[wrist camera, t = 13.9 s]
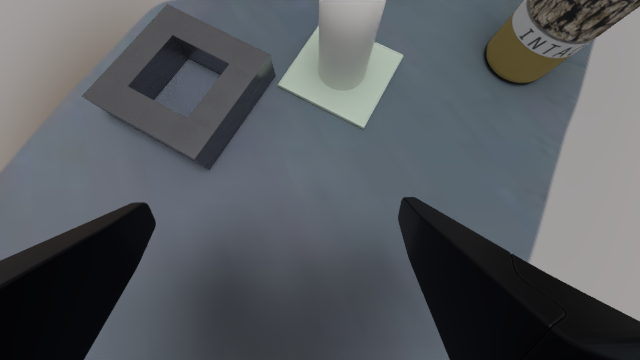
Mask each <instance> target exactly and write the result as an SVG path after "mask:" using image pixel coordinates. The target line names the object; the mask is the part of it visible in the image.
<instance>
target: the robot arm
mask: <svg viewBox="0 0 640 360" xmlns="http://www.w3.org/2000/svg"><path fill="white" fill-rule="evenodd" d="M398 221H399V225H400V229H401V232H402V236H403V239H404V243H405V247H406V250H407V254H408V257H409V260H410V263H411V265H412V268H413V270H414V273H415V275H416V278H417V280H418V282H419V285H420V287H421V290H422V292H423V295H424V297H425V300H426V302H427V305H428V307H429V310H430V312H431V314H432V317H433V319H434V322H435V324H436V327H437V329H438V332H439V334H440V337H441V339H442V341H443V344H444V346H445V349H446V351H447V354H448V356H449V359H450V360H640V321H638V320H636V319H634V318H632V317H630V316H628V315H626V314H624V313H622V312H620V311H618V310H616V309H614V308H612V307H611V306H609V305H607V304H604V303H602V302H601V301H599V300H597V299H595V298H593V297H591V296H589V295H587V294H585V293H583V292H581V291H579V290H578V289H576V288H573V287H572V286H570V285H568V284H566V283H564V282H562V281H560V280H558V279H557V278H554V277H553V276H551V275H549V274H547V273H545V272H544V271H542V270H540V269H538V268H536V267H535V266H533V265H531V264H529V263H527V262H526V261H524V260H522V259H521V258H519V257H517V256H515V255H514V254H510V252H508V251H507V250H505V249H503V248H502V247H500V246H498V245H496V244H495V243H493V242H491V241H489V240H488V239H486V238H484V237H483V236H481V235H479V234H477V233H476V232H474V231H472V230H470V229H469V228H467V227H465V226H464V225H462V224H460V223H458V222H457V221H455V220H453V219H451V218H450V217H448V216H446V215H445V214H443V213H441V212H439V211H438V210H436V209H434V208H432V207H431V206H429V205H427V204H426V203H424V202H422V201H420V200H419V199H417V198H415V197H404V198H403V199H402V201H401V205H400V210H399V215H398ZM155 225H156V222H155V219H154V217H153V214H152V212H151V210H150V208H149V206H148V204H147V203H131V204H128V205H126V206H124V207H122V208H119V209H117V210H115V211H112V212H110V213H108V214H106V215H103V216H101V217H99V218H96V219H94V220H92V221H90V222H87V223H85V224H83V225H81V226H78V227H76V228H74V229H71V230H69V231H67V232H65V233H62V234H60V235H58V236H55V237H53V238H51V239H49V240H46V241H44V242H42V243H39V244H37V245H35V246H33V247H30V248H28V249H26V250H24V251H21V252H19V253H17V254H14V255H12V256H10V257H8V258H5V259H3V260H1V261H0V360H84V359H85V357H86V355H87V353H88V352H89V350H90V348H91V346H92V345H93V343H94V341H95V339H96V338H97V336H98V334H99V333H100V331H101V329H102V327H103V326H104V324H105V322H106V320H107V319H108V317H109V315H110V314H111V312H112V310H113V308H114V307H115V305H116V303H117V301H118V300H119V298H120V296H121V294H122V293H123V291H124V289H125V288H126V286H127V284H128V282H129V281H130V279H131V277H132V275H133V274H134V272H135V270H136V268H137V266H138V264H139V262H140V260H141V258H142V256H143V253H144V251H145V249H146V247H147V245H148V242H149V240H150V238H151V236H152V233H153V231H154V229H155Z"/></svg>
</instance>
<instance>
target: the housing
mask: <svg viewBox="0 0 640 360" xmlns="http://www.w3.org/2000/svg"><path fill="white" fill-rule="evenodd" d="M188 58H189V59H191V60H193V61H195V62H197V63H199V64H201V65H203V66H205V67H206V68H208V69H210V70H212V71H214V72H216V73H218V74H220V75H221V76H220V77H219V78H218V79H217V81H216V82H215V83H214V85H213V86H212V87H211V89H210V90H209V91H208V92H207V94H206V95H205V96H204V98H203V99H202V100H201V101H200V103H199V104H198V105H197V107H196V108H195V109H194V110H193V112H192V113H191V114H190V116H189V117H188V118H186V117H184V116H182V115H180V114H178V113H176V112H174V111H173V110H171V109H169V108H167V107H165V106H163V105H161V104H160V103H158V102H156V101H154V99H155V98H156V96H157V95H158V94H159V93H160V92H161V90H162V89H163V88H164V87H165V86H166V84H167V83H168V82H169V81H170V80H171V78H172V77H173V76H174V75H175V74H176V72H177V71H178V70H179V69H180V68H181V66H182V65H183V64H184V63H185V62H186V60H187V59H188ZM274 77H275V73H274V68H273V64H272V59H271V55H270V54H268V53H266V52H264V51H262V50H260V49H258V48H256V47H254V46H252V45H250V44H247V43H245V42H243V41H241V40H239V39H237V38H235V37H233V36H231V35H229V34H227V33H225V32H223V31H221V30H219V29H217V28H215V27H213V26H211V25H209V24H207V23H205V22H202V21H200V20H198V19H196V18H194V17H192V16H190V15H188V14H186V13H184V12H182V11H180V10H178V9H176V8H174V7H172V6H170V5H168V4H167V5H166V6H165V7H164V8H163V9H162V10H161V12H160V13H159V14H158V15H157V16H156V17H155V18H154V19H153V20H152V21H151V22H150V23H149V24H148V26H147V27H146V28H145V29H144V30H143V31H142V32H141V33H140V34H139V35H138V36H137V37H136V38H135V40H134V41H133V42H132V43H131V44H130V45H129V46H128V47H127V48H126V49H125V50H124V51H123V52H122V54H121V55H120V56H119V57H118V58H117V59H116V60H115V61H114V62H113V63H112V64H111V65H110V66H109V68H108V69H107V70H106V71H105V72H104V73H103V74H102V75H101V76H100V77H99V78H98V79H97V80H96V82H95V83H94V84H93V85H92V86H91V87H90V88H89V89H88V90H87V91H86V92H85V93H84V94H83V96H82V97H84V98H85V99H87V100H88V101H90V102H92V103H93V104H95V105H96V106H98V107H99V108H101V109H103V110H104V111H106V112H107V113H109V114H111V115H112V116H114V117H116V118H118V119H120V120H121V121H123V122H125V123H127V124H129V125H130V126H132V127H134V128H136V129H137V130H139V131H141V132H143V133H145V134H146V135H148V136H150V137H152V138H154V139H155V140H157V141H159V142H161V143H163V144H164V145H166V146H168V147H170V148H171V149H173V150H175V151H177V152H179V153H180V154H182V155H184V156H186V157H188V158H189V159H191V160H193V161H195V162H197V163H198V164H200V165H202V166H204V167H205V168H207V169H209V170H210V168H211V167H212V165H213V164H214V163H215V161H216V160H217V158H218V157H219V155H220V154H221V153H222V151H223V150H224V148H225V147H226V145H227V144H228V143H229V141H230V140H231V138H232V137H233V135H234V134H235V133H236V131H237V130H238V128H239V127H240V125H241V124H242V123H243V121H244V120H245V118H246V117H247V115H248V114H249V113H250V111H251V110H252V108H253V107H254V105H255V104H256V103H257V101H258V100H259V98H260V97H261V95H262V94H263V93H264V91H265V90H266V88H267V87H268V86H269V84H270V83H271V81H272V80H273V78H274Z"/></svg>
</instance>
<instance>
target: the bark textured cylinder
mask: <svg viewBox="0 0 640 360" xmlns="http://www.w3.org/2000/svg"><path fill="white" fill-rule="evenodd" d="M639 6H640V0H524V1H523V3H522V4H521V5H520V6H519V7H518V8H517V9H516V11H515V12H514V13H513V14H512V16H511V17H510V18H509V19H508V20H507V21H506V22H505V24H504V25H503V26H502V27H501V28H500V29H499V30H498V32H497V33H496V34H495V35H494V36H493V37H492V39H491V40H490V42H489V43H488V46H487V52H486V56H487V60H488V63H489V65H490V67H491V68H492V69H493V71H494V72H495V73H496V74H498V75H499V76H500V77H502V78H504V79H506V80H508V81H511V82H515V83H527V82H532V81H535V80H537V79H539V78H541V77H542V76H544V75H545V74H546V73H548V72H549V71H550V70H552V69H553V68H555V67H556V66H557V65H559V64H560V63H561V62H563V61H564V60H566V59H567V58H568V57H570V56H571V55H573V54H574V53H576V52H577V51H578V50H580V49H581V48H583V47H584V46H585V45H587V44H588V43H590V42H591V41H592V40H594V39H595V38H596V37H598V36H599V35H601V34H602V33H603V32H605V31H606V30H607V29H609V28H610V27H611V26H613V25H614V24H616V23H617V22H618V21H620V20H621V19H623V18H624V17H625V16H627V15H628V14H630V13H631V12H632V11H634V10H635V9H636V8H638V7H639Z"/></svg>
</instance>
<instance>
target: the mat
mask: <svg viewBox="0 0 640 360" xmlns="http://www.w3.org/2000/svg"><path fill="white" fill-rule="evenodd" d="M403 56H404V55H402V54H400V53H398V52H396V51H394V50H391V49H389V48H387V47H385V46H383V45H380V44H378V43H376V42H374V45H373V48H372V52H371V55H370V59H369V62H368V66H367V69H366V73H365V76H364V79H363V80H362V82H361V83H360V84H359V85H358V86H356V87H354V88H352V89H349V90H337V89H333V88H331V87H329V86H327V85H326V84H325V83H324V82H323V81H322V79H321V78H320V75H319V26H318V27H317V29H316V30H315V32H314V33H313V34H312V36H311V37H310V39H309V40H308V42H307V43H306V45H305V46H304V47H303V49H302V50H301V52H300V53H299V55H298V56H297V58H296V59H295V61H294V62H293V63H292V65H291V66H290V68H289V69H288V71H287V72H286V74H285V75H284V76H283V78H282V79H281V81H280V82H279V84H278V87H279V88H281V89H283V90H285V91H287V92H289V93H291V94H293V95H295V96H297V97H299V98H301V99H303V100H305V101H307V102H309V103H311V104H313V105H315V106H317V107H319V108H321V109H323V110H325V111H327V112H329V113H331V114H333V115H335V116H337V117H339V118H341V119H343V120H345V121H347V122H349V123H351V124H353V125H355V126H357V127H359V128H361V129H364V127H365V125H366V124H367V122H368V120H369V118H370V116H371V114H372V113H373V111H374V109H375V107H376V105H377V103H378V102H379V100H380V98H381V96H382V94H383V93H384V91H385V89H386V87H387V85H388V83H389V82H390V80H391V78H392V76H393V74H394V72H395V71H396V69H397V67H398V65H399V63H400V62H401V60H402V58H403Z"/></svg>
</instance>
